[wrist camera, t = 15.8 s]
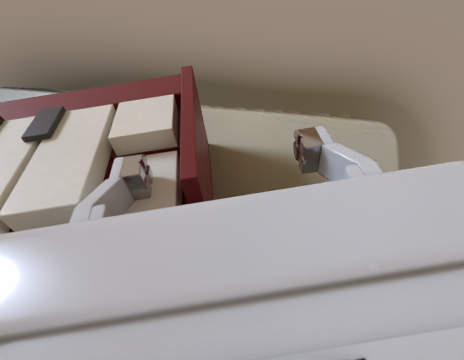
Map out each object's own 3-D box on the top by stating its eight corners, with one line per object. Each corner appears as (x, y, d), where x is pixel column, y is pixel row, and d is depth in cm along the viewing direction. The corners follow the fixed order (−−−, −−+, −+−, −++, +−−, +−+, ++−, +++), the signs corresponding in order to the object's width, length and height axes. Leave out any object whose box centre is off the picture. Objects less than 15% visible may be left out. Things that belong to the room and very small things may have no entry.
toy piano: (-83, 308, 18) (-234, 245, 12) (3, 175, 26) (-65, 105, 21) (219, 258, 18) (197, 176, 13) (208, 143, 26) (191, 65, 21)
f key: (111, 234, 15) (99, 219, 14) (123, 175, 18) (115, 159, 17) (182, 223, 15) (176, 206, 14) (182, 166, 18) (177, 149, 17)
